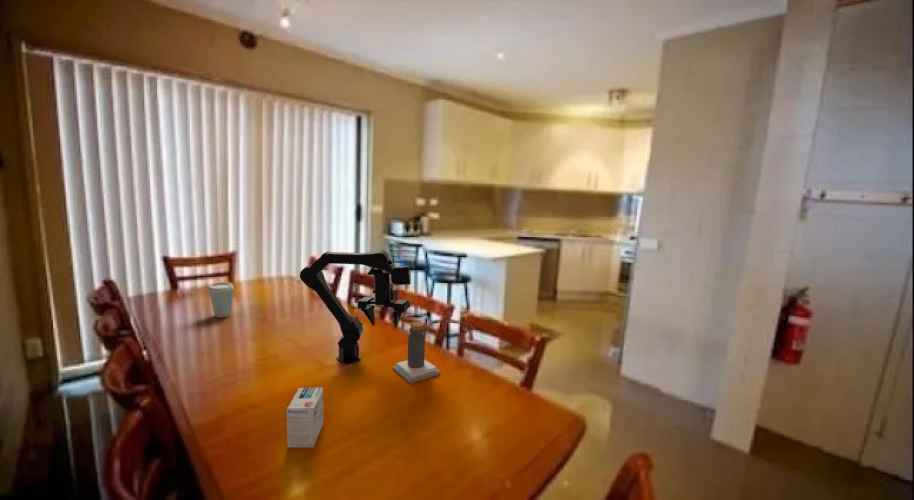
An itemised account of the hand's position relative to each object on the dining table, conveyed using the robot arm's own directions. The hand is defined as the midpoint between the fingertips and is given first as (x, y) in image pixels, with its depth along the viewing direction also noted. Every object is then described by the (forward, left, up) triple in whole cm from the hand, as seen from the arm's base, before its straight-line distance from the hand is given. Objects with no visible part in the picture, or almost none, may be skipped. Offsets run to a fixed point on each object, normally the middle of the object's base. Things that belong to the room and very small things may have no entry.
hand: (385, 326), depth 153 cm
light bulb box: (-43, -23, -13) cm, 50 cm away
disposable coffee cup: (-27, +88, -13) cm, 93 cm away
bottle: (+2, -15, -11) cm, 18 cm away
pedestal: (+2, -15, -13) cm, 20 cm away
